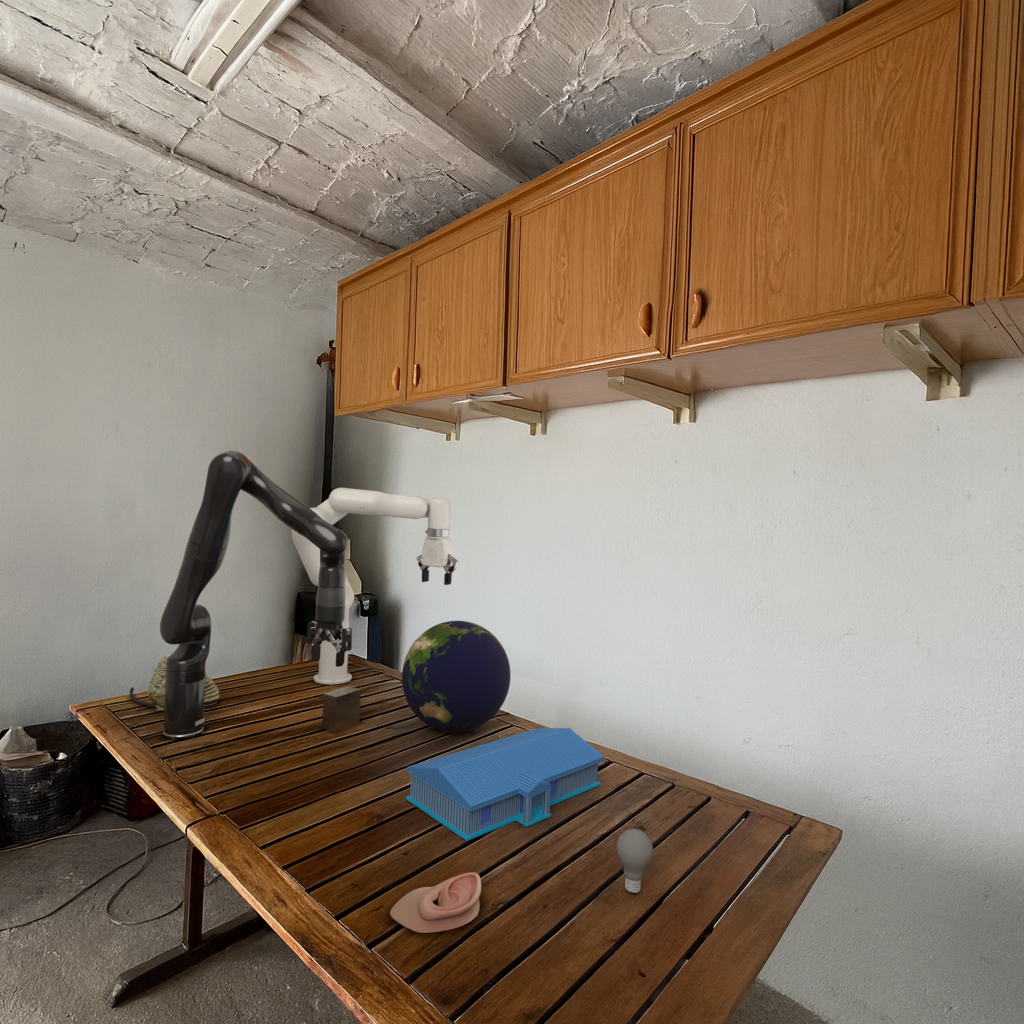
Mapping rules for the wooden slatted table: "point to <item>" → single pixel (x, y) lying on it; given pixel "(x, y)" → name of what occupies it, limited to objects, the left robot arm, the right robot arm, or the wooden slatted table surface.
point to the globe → (456, 676)
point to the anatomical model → (440, 905)
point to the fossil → (158, 687)
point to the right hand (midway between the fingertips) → (436, 583)
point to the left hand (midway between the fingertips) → (327, 663)
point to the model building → (504, 780)
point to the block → (341, 708)
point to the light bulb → (634, 857)
